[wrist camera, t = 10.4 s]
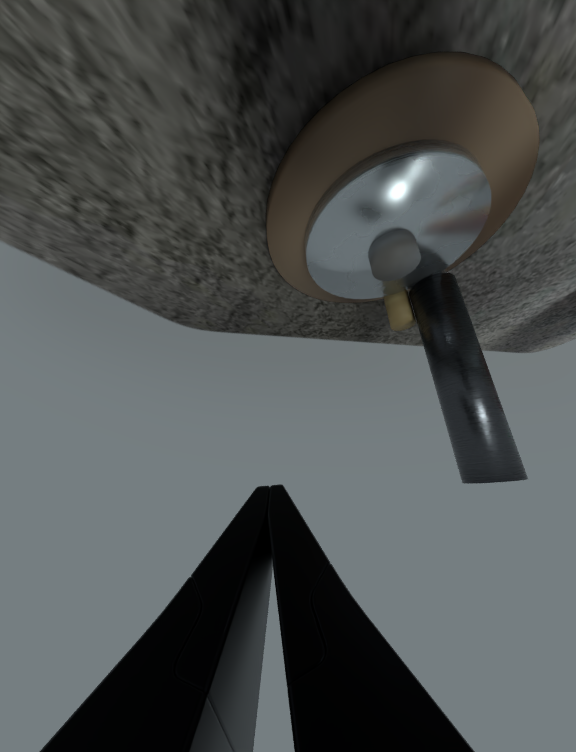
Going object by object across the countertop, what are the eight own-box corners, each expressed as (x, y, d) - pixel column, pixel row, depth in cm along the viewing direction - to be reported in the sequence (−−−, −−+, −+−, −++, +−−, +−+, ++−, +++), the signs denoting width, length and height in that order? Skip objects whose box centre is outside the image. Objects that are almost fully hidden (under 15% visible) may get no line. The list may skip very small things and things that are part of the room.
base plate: (627, 35, 10) (696, 106, 8) (441, 284, 22) (456, 329, 20) (248, 67, 10) (253, 144, 8) (274, 299, 22) (278, 345, 20)
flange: (270, 244, 15) (292, 506, 11) (443, 75, 9) (653, 505, 5) (378, 312, 23) (418, 483, 18) (513, 243, 17) (621, 472, 12)
